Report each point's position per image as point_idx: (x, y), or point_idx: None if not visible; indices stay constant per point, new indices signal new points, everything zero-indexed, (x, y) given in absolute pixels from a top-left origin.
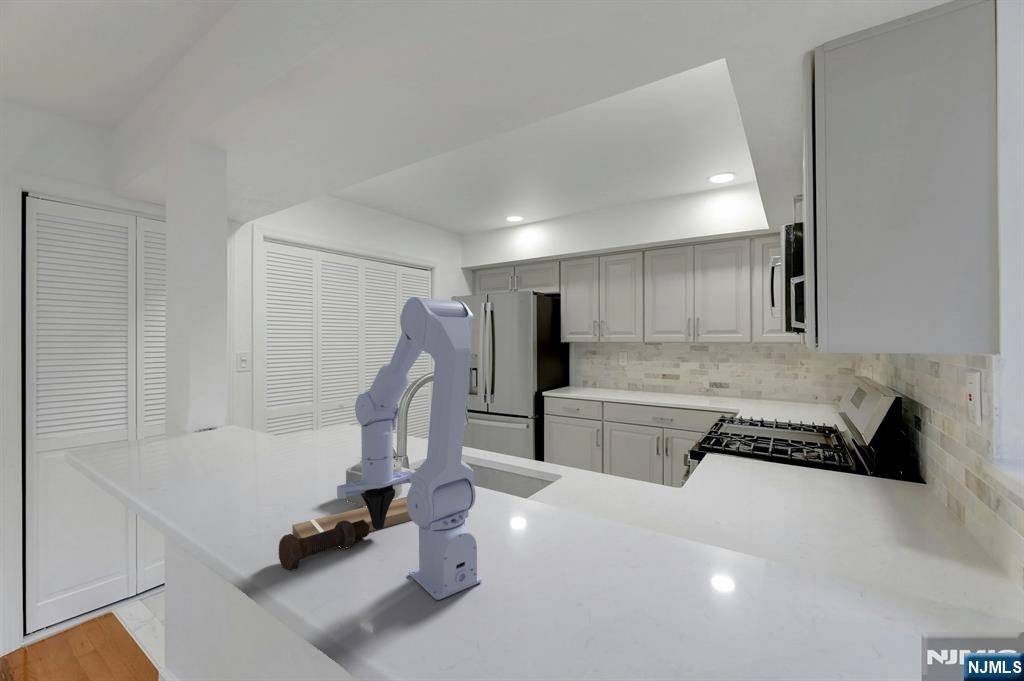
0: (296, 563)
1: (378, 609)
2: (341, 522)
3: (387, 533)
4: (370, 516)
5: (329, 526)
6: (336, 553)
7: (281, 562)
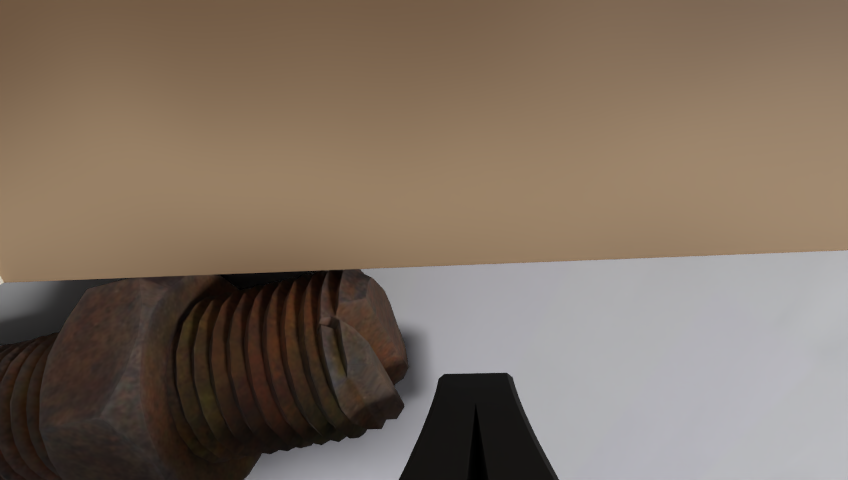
0: None
1: None
2: (77, 457)
3: (569, 326)
4: (414, 448)
5: (6, 135)
6: None
7: None
